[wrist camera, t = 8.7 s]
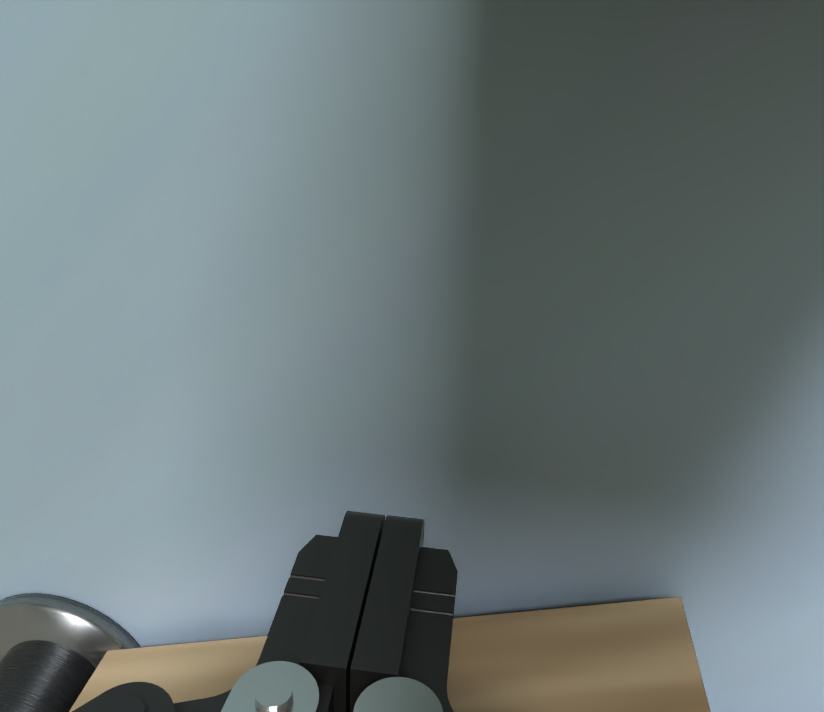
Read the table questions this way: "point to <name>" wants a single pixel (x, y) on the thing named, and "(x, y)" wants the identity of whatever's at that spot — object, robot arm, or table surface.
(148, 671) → the gate
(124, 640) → the hinge post
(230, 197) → the table surface
